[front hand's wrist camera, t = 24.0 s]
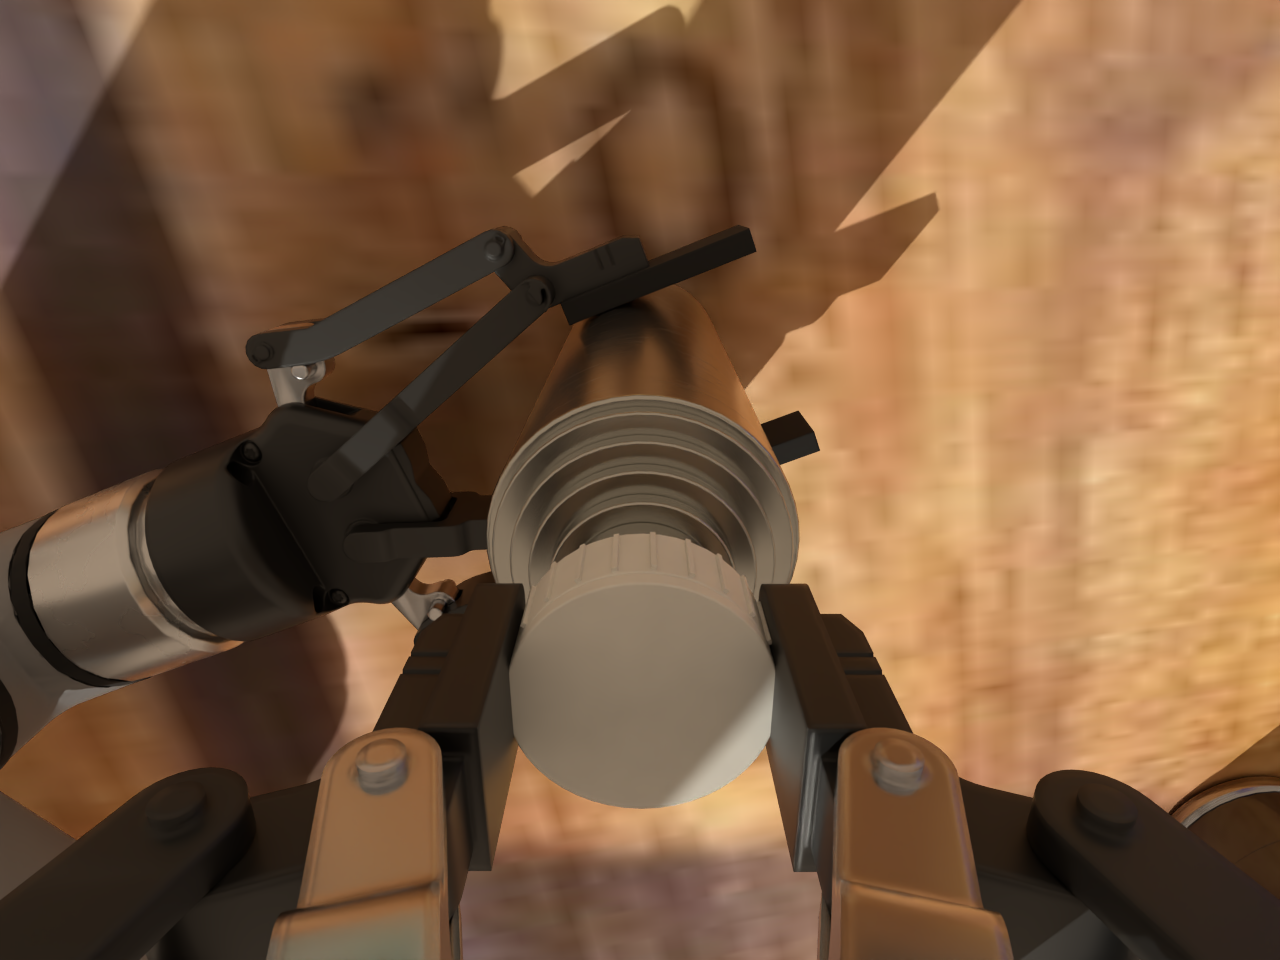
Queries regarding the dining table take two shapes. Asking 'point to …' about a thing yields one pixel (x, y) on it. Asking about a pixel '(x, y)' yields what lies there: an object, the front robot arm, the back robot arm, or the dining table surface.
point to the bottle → (643, 451)
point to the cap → (642, 672)
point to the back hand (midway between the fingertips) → (778, 338)
